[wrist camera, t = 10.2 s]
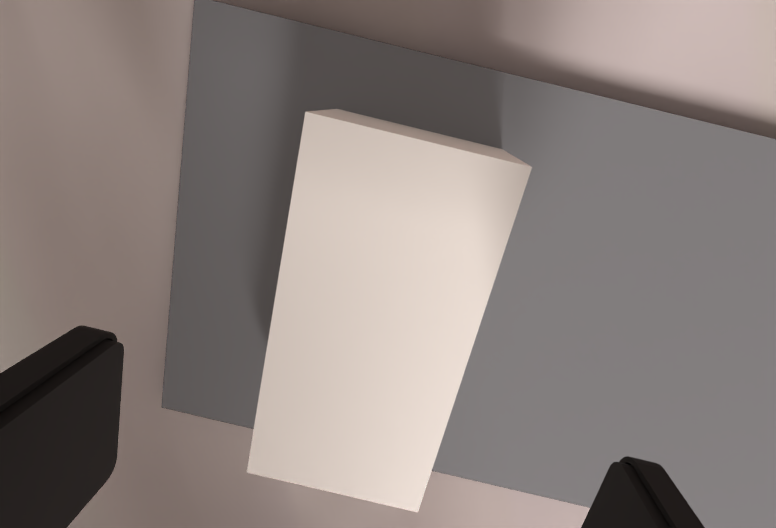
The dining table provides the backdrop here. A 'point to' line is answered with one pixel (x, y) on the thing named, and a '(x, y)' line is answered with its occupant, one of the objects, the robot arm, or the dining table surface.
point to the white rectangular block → (378, 302)
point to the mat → (506, 264)
